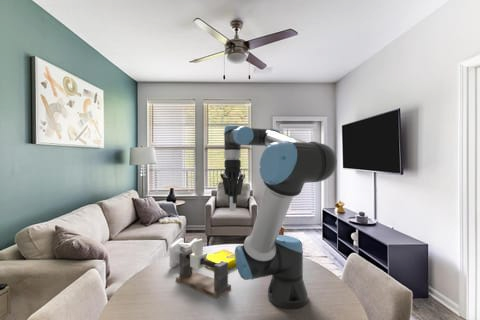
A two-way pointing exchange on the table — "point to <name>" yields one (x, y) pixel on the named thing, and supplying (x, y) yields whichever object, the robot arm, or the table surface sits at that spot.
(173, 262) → the cable organizer
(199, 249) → the sleeve
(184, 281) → the cord rack
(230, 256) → the element tile
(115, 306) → the table surface
